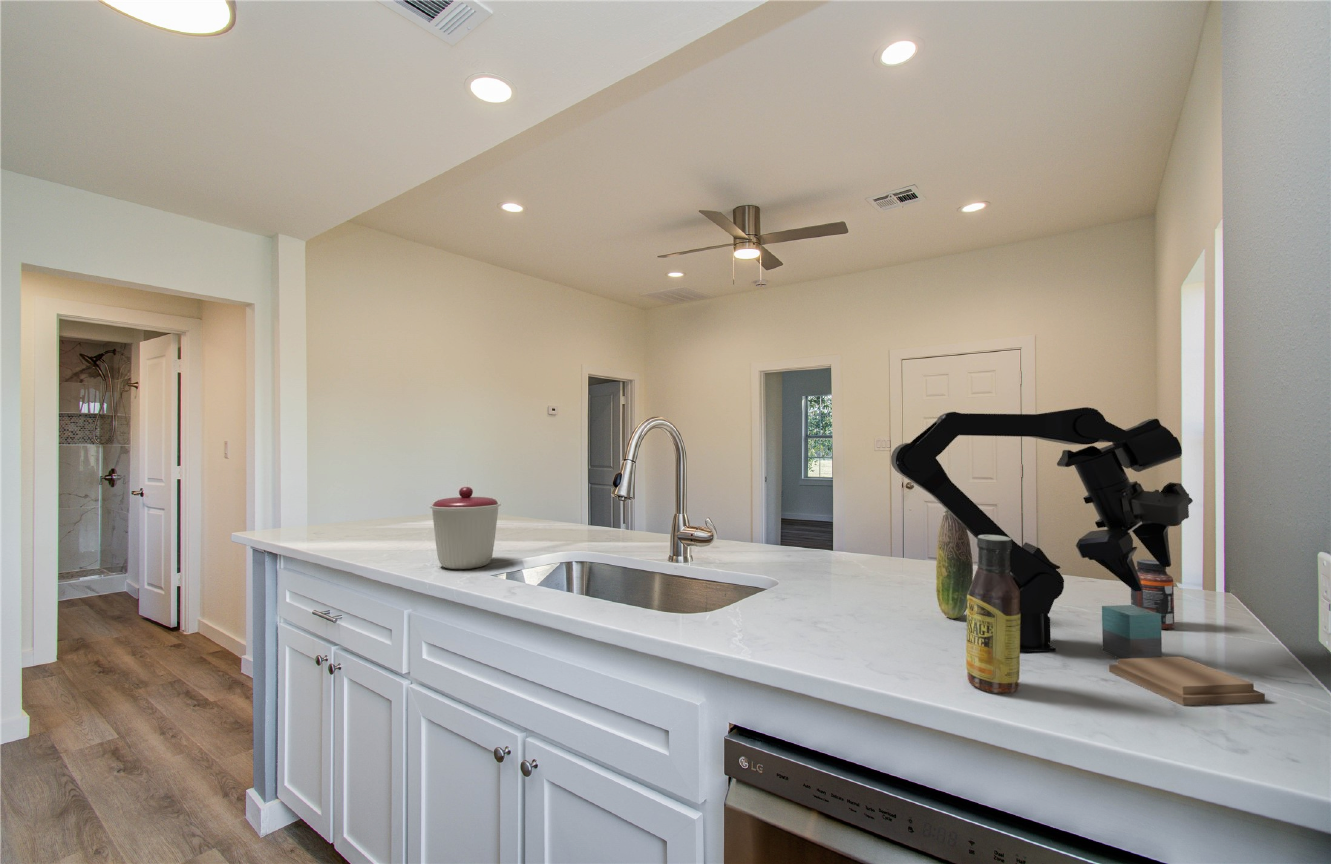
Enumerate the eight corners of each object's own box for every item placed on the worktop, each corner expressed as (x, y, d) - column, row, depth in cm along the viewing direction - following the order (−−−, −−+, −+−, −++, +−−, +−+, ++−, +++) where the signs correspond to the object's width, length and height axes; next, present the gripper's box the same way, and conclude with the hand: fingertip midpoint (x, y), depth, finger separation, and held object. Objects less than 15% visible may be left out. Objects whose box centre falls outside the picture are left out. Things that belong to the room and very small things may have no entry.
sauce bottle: (956, 678, 82) (954, 532, 82) (1000, 676, 83) (997, 532, 83) (986, 698, 75) (984, 540, 76) (1033, 696, 76) (1030, 539, 76)
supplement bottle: (1182, 631, 102) (1181, 564, 103) (1143, 629, 103) (1141, 563, 104) (1161, 621, 108) (1160, 558, 108) (1124, 619, 109) (1123, 557, 110)
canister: (450, 576, 147) (450, 490, 147) (416, 566, 159) (417, 487, 160) (513, 565, 160) (514, 486, 161) (478, 557, 172) (479, 483, 173)
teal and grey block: (1130, 663, 88) (1129, 614, 88) (1102, 651, 93) (1101, 605, 93) (1162, 661, 88) (1160, 614, 88) (1132, 650, 93) (1131, 605, 93)
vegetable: (932, 611, 115) (931, 507, 115) (967, 613, 113) (966, 507, 114) (940, 620, 109) (938, 510, 109) (977, 622, 107) (976, 511, 108)
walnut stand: (1183, 705, 73) (1183, 688, 73) (1109, 671, 84) (1108, 657, 84) (1265, 701, 74) (1264, 685, 74) (1181, 668, 85) (1180, 654, 85)
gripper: (1133, 495, 82) (1187, 603, 80) (1193, 453, 90) (1243, 550, 88) (1054, 507, 92) (1101, 604, 90) (1115, 468, 100) (1159, 556, 98)
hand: (1153, 578), depth 91 cm, fingers open, 9 cm apart
